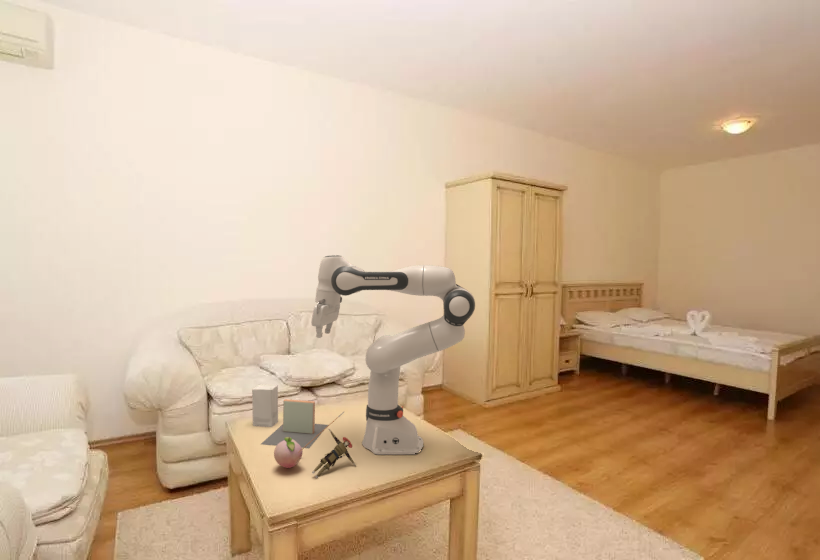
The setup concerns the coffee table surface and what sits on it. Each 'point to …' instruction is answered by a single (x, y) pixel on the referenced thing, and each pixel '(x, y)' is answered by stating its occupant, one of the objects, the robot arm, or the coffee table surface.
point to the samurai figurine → (333, 453)
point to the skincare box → (265, 405)
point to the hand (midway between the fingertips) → (323, 335)
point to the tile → (298, 416)
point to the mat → (295, 436)
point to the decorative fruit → (288, 453)
